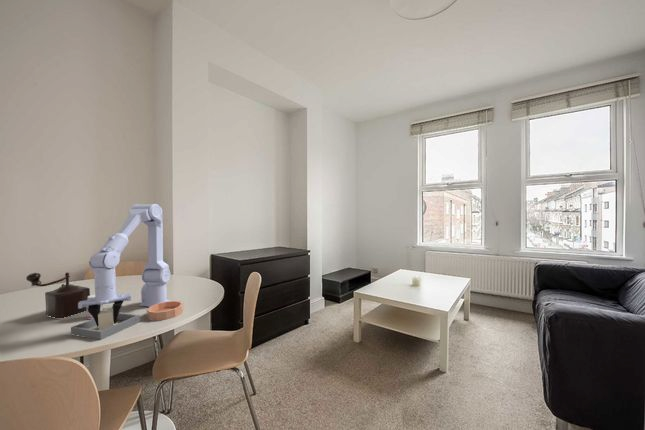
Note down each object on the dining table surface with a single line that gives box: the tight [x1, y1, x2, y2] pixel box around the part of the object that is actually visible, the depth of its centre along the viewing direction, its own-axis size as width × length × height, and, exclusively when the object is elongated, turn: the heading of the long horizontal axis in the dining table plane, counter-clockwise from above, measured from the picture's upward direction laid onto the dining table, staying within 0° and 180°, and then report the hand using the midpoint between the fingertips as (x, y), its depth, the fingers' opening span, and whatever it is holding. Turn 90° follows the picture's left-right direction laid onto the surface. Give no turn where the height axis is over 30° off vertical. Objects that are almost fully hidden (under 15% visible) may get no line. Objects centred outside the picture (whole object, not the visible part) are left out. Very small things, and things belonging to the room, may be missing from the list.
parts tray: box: [70, 311, 141, 340], centre depth 93 cm, size 14×14×2 cm
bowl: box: [146, 300, 184, 321], centre depth 105 cm, size 12×12×3 cm
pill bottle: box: [86, 293, 104, 320], centre depth 103 cm, size 5×5×8 cm
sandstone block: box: [98, 308, 117, 331], centre depth 93 cm, size 4×4×6 cm
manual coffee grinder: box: [25, 272, 91, 319], centre depth 105 cm, size 16×11×18 cm
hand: (107, 324), depth 93 cm, fingers closed on sandstone block, 4 cm apart
